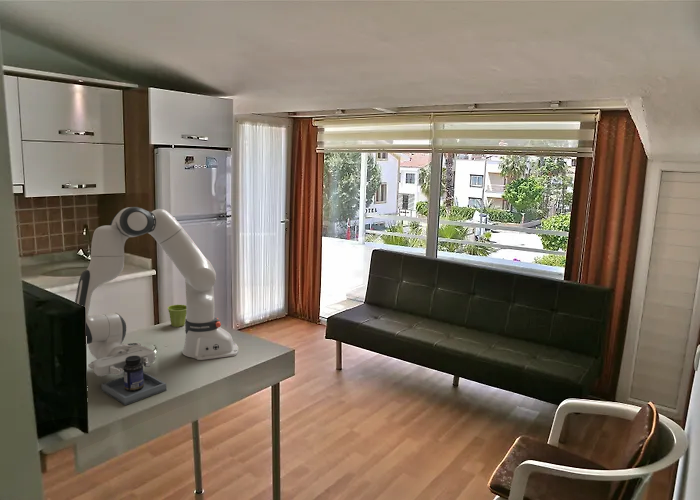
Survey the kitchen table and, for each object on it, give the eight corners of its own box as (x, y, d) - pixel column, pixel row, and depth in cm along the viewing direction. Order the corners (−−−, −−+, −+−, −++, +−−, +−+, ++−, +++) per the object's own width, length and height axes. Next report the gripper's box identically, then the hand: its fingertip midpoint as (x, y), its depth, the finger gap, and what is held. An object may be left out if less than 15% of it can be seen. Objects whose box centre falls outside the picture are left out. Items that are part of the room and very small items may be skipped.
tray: (142, 377, 186) (142, 370, 185) (166, 390, 177) (166, 383, 176) (101, 390, 174) (101, 383, 174) (125, 405, 165) (124, 398, 165)
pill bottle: (146, 384, 178) (146, 355, 176) (138, 392, 172) (137, 362, 170) (129, 383, 179) (128, 353, 176) (120, 391, 173) (119, 360, 170)
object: (190, 321, 247) (189, 304, 246) (186, 328, 238) (186, 310, 236) (169, 321, 246) (169, 304, 244) (165, 328, 237) (165, 310, 235)
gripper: (85, 355, 174) (103, 368, 165) (143, 341, 189) (162, 352, 180) (86, 372, 175) (103, 386, 166) (143, 357, 190) (162, 369, 182)
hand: (134, 368), depth 174 cm, fingers open, 8 cm apart
